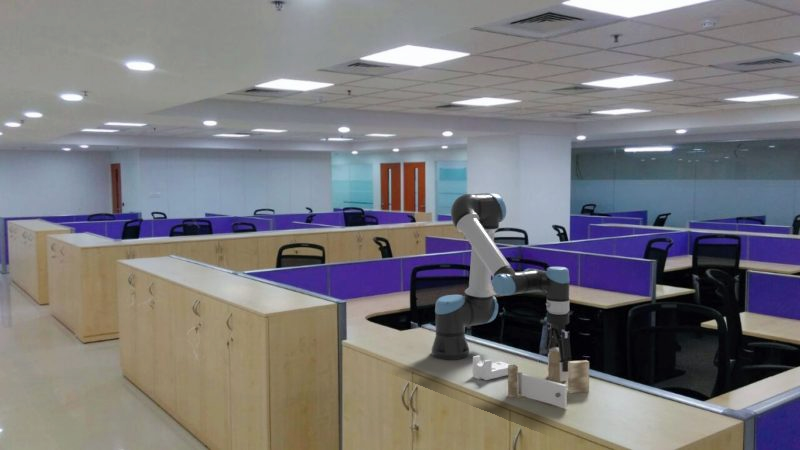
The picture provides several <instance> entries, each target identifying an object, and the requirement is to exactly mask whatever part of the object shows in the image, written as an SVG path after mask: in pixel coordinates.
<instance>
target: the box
mask: <svg viewBox="0 0 800 450" xmlns="http://www.w3.org/2000/svg"><path fill="white" fill-rule="evenodd" d="M560 360H561V358H560V353H559V347H558V346H556V347H553V348H551V349H549V371H548V370H547V372H548V374H547V376H548V379H547V380H549V381H553V382H557V383H561V384H563V383H564V382H565V381H560V362H559V361H560Z"/></svg>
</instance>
